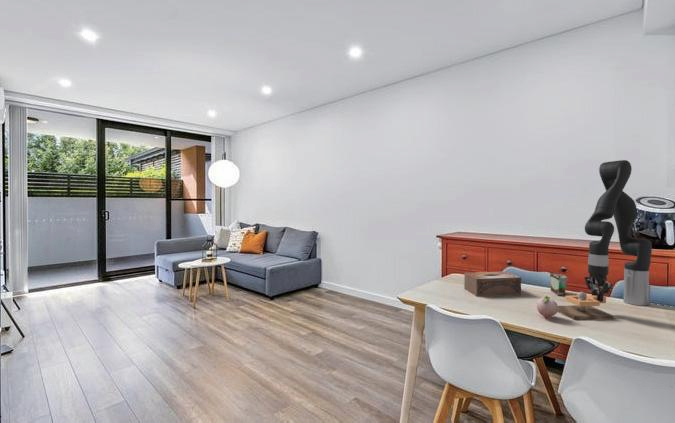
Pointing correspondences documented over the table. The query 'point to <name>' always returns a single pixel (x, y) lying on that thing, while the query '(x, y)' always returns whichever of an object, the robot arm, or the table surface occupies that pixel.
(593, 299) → the link
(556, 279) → the food container
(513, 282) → the tissue box cover
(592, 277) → the robot arm
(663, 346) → the table surface
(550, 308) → the decorative fruit
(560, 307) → the keeper
